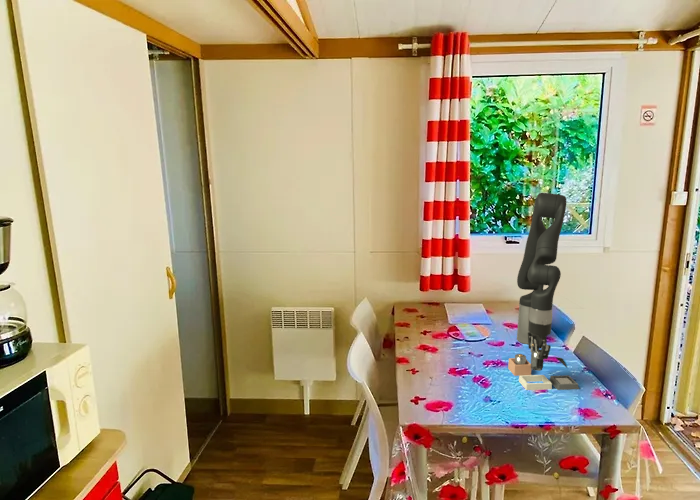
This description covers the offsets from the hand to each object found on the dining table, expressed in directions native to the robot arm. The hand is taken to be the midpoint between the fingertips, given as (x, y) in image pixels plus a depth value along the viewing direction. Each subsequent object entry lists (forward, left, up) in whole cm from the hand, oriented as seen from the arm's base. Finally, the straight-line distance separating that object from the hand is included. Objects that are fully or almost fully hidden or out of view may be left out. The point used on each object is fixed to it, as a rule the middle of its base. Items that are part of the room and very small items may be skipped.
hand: (536, 365), depth 177 cm
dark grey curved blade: (-16, +16, -9) cm, 25 cm away
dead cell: (-11, -1, -8) cm, 14 cm away
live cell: (0, 0, -1) cm, 1 cm away
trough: (0, 0, -9) cm, 9 cm away
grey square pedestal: (0, +10, -9) cm, 14 cm away
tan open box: (-11, -1, -9) cm, 14 cm away
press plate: (0, +10, -7) cm, 13 cm away
